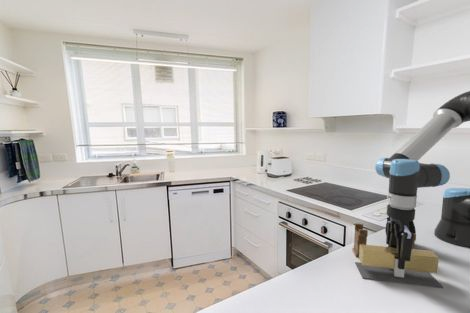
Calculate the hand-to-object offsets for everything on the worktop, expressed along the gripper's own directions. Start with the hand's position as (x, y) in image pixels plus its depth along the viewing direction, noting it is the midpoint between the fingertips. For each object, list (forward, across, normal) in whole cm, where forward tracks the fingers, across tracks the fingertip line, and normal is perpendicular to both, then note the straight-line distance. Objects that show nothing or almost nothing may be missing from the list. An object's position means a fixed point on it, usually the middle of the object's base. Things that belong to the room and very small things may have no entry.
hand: (395, 271), depth 78 cm
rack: (+1, -12, 0) cm, 12 cm away
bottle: (+1, -24, +11) cm, 26 cm away
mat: (+1, 0, 0) cm, 1 cm away
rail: (-2, 0, 0) cm, 2 cm away
